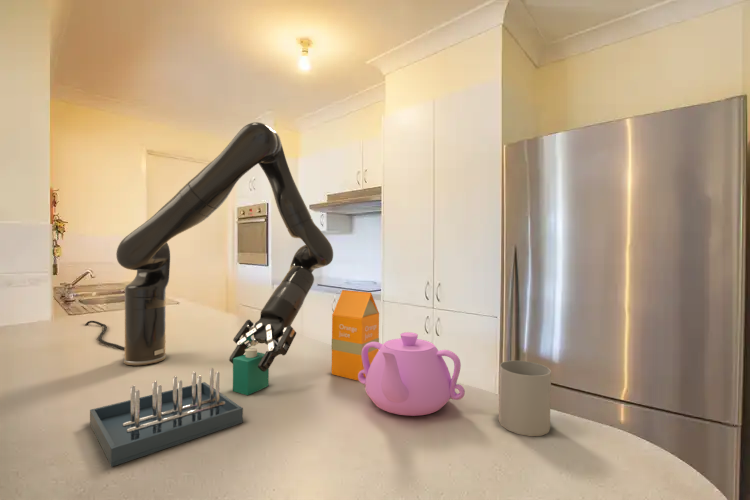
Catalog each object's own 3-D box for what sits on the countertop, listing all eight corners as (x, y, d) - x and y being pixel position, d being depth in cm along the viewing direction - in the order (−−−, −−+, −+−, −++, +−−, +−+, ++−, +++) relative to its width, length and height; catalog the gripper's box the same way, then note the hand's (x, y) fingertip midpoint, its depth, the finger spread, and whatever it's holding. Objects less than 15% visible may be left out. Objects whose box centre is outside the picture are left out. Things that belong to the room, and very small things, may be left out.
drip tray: (89, 424, 65) (89, 409, 65) (204, 394, 79) (204, 381, 79) (111, 467, 53) (111, 448, 53) (242, 422, 67) (242, 407, 66)
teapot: (327, 420, 68) (327, 343, 67) (373, 380, 88) (374, 320, 88) (451, 446, 59) (452, 358, 59) (470, 395, 79) (471, 329, 79)
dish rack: (122, 442, 58) (122, 386, 58) (218, 413, 68) (218, 365, 68) (127, 451, 56) (127, 392, 56) (225, 419, 66) (226, 370, 66)
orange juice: (361, 381, 87) (362, 294, 87) (330, 374, 92) (331, 291, 91) (379, 372, 94) (380, 290, 93) (349, 365, 98) (350, 288, 98)
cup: (547, 418, 70) (548, 363, 70) (552, 439, 62) (553, 378, 62) (499, 410, 72) (499, 358, 72) (498, 430, 65) (499, 372, 64)
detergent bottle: (232, 391, 81) (232, 351, 80) (254, 382, 86) (254, 344, 86) (247, 395, 78) (247, 354, 78) (268, 386, 84) (268, 347, 84)
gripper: (254, 293, 92) (213, 352, 82) (300, 297, 85) (262, 362, 75) (269, 311, 97) (233, 369, 87) (314, 317, 90) (280, 380, 80)
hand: (246, 366), depth 81 cm, fingers open, 8 cm apart
